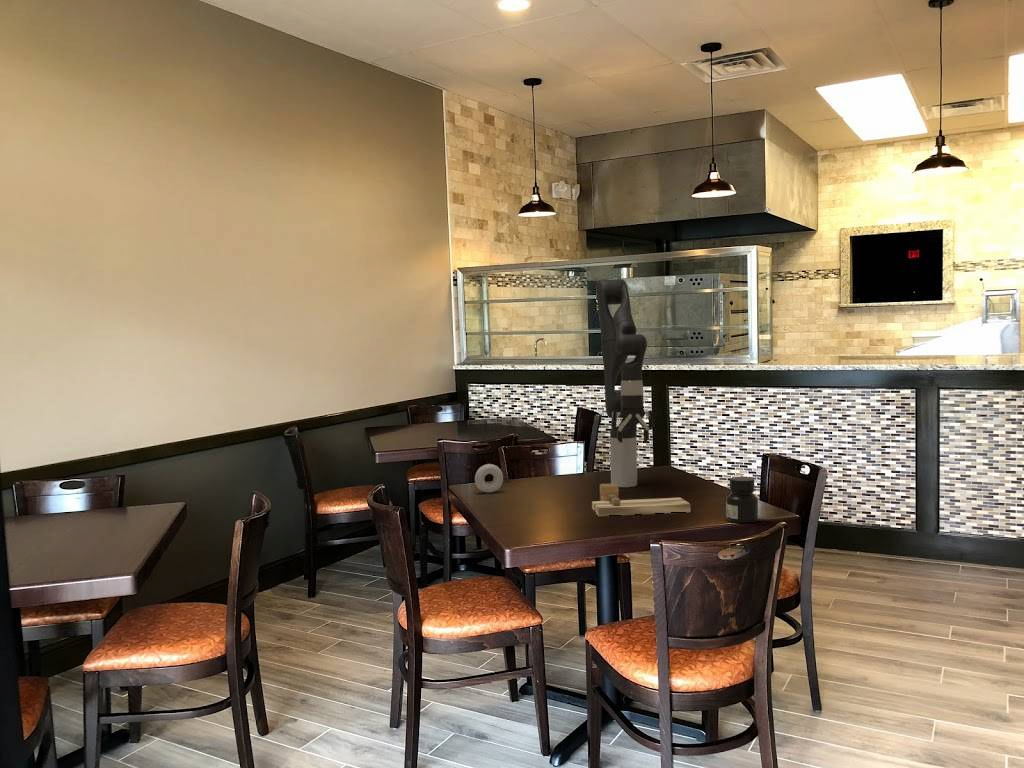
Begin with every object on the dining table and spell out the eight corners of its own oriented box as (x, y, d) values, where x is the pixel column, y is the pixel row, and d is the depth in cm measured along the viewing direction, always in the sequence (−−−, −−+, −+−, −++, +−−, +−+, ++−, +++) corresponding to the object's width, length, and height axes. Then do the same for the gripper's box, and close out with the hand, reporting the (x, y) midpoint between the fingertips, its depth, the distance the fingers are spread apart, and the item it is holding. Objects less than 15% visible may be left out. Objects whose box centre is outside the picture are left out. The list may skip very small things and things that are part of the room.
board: (592, 509, 264) (591, 501, 264) (680, 505, 267) (680, 497, 267) (598, 516, 254) (598, 508, 254) (690, 512, 257) (690, 503, 257)
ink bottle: (725, 516, 251) (724, 475, 250) (756, 516, 249) (756, 475, 249) (727, 523, 241) (727, 481, 240) (760, 524, 240) (759, 482, 239)
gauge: (599, 505, 270) (599, 483, 269) (615, 504, 270) (614, 482, 270) (608, 514, 256) (608, 491, 256) (625, 513, 257) (625, 490, 257)
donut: (476, 494, 292) (475, 465, 291) (474, 492, 295) (473, 464, 294) (504, 492, 294) (504, 463, 294) (502, 490, 298) (501, 462, 297)
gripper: (649, 392, 292) (650, 440, 293) (608, 394, 291) (609, 441, 291) (655, 393, 285) (656, 442, 285) (613, 395, 283) (614, 443, 284)
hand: (633, 441), depth 288 cm, fingers open, 8 cm apart
